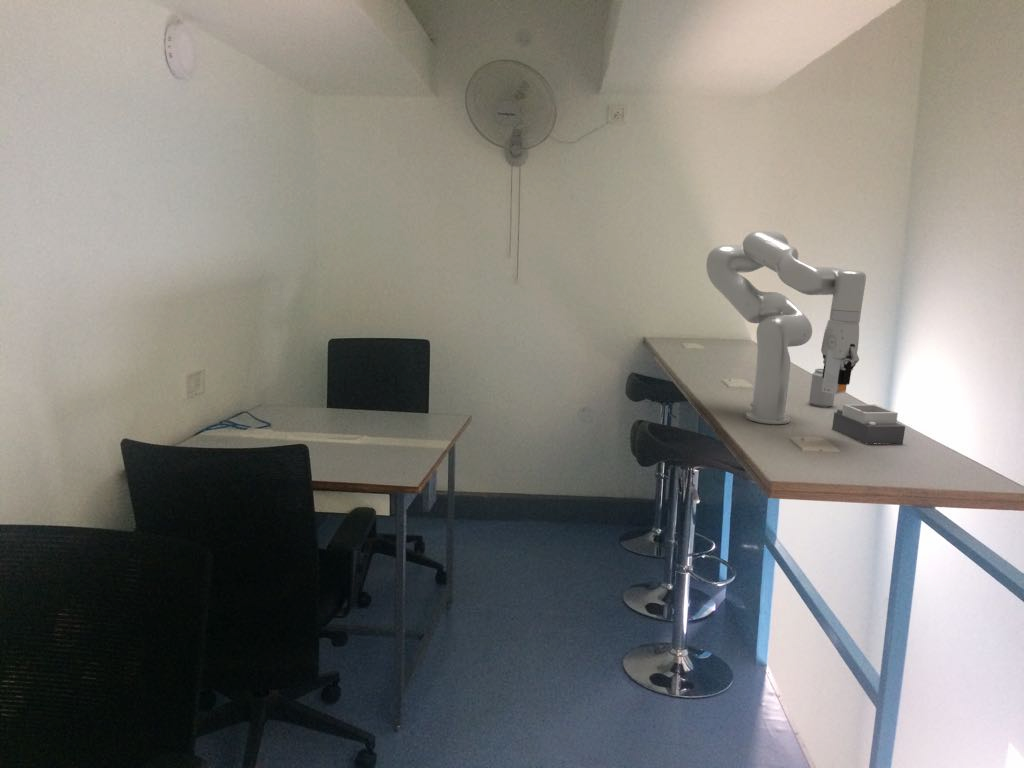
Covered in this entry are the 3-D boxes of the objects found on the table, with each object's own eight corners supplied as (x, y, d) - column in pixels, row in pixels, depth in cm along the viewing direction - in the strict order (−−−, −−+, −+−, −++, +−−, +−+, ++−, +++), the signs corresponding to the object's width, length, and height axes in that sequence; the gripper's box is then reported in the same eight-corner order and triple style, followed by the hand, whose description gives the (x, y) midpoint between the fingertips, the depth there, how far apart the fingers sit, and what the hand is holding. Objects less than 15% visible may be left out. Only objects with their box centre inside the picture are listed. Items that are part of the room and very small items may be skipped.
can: (836, 408, 245) (841, 372, 243) (813, 407, 245) (818, 371, 243) (827, 403, 253) (832, 368, 250) (805, 402, 253) (809, 367, 250)
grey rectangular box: (832, 428, 219) (835, 401, 217) (866, 428, 221) (869, 401, 219) (866, 444, 203) (870, 415, 202) (902, 443, 205) (906, 414, 203)
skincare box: (836, 395, 203) (842, 351, 200) (821, 391, 206) (827, 349, 204) (846, 392, 207) (852, 349, 204) (831, 389, 210) (837, 347, 207)
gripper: (814, 312, 210) (805, 374, 214) (851, 321, 193) (841, 388, 197) (838, 312, 211) (829, 374, 215) (877, 321, 194) (867, 388, 198)
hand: (835, 380), depth 206 cm, fingers closed on skincare box, 6 cm apart
